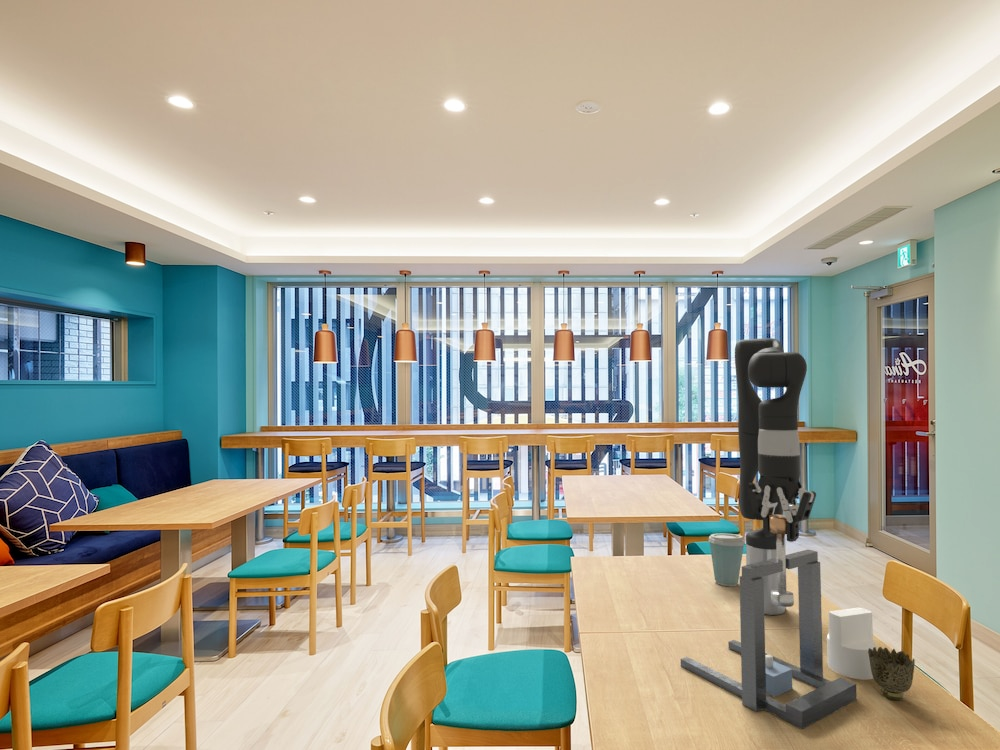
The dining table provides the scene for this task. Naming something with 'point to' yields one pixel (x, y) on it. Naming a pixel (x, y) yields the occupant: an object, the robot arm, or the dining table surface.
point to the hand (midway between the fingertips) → (780, 538)
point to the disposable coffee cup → (726, 557)
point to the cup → (891, 671)
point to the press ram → (779, 527)
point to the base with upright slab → (850, 642)
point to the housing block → (777, 677)
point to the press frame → (753, 658)
